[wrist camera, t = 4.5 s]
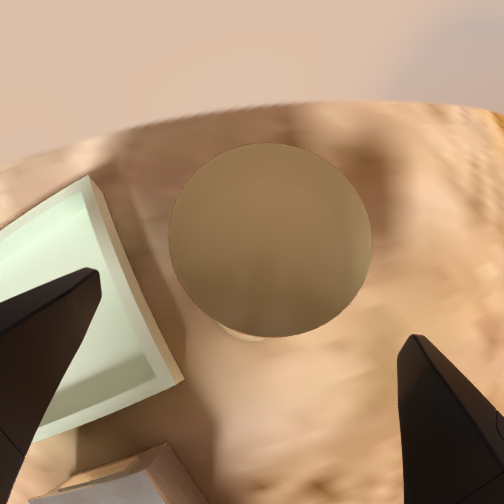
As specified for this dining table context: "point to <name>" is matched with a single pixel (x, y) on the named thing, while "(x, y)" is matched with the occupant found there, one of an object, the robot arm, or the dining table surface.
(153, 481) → the box
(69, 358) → the robot arm
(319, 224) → the fuse
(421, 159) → the dining table surface
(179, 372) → the tray
